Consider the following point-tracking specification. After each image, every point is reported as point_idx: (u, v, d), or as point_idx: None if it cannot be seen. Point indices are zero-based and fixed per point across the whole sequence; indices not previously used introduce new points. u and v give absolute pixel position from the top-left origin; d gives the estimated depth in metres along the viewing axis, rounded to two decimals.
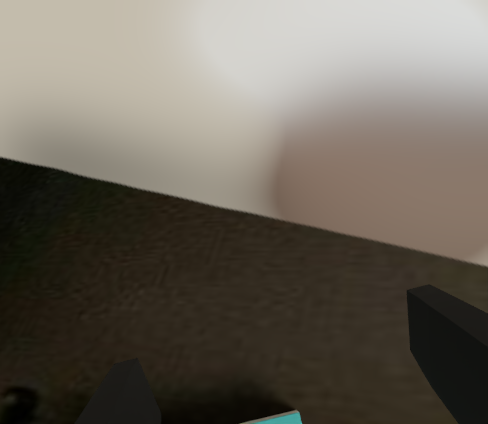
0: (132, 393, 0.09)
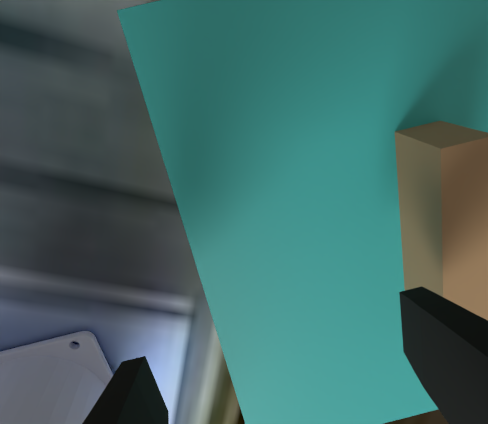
0: (140, 391, 0.09)
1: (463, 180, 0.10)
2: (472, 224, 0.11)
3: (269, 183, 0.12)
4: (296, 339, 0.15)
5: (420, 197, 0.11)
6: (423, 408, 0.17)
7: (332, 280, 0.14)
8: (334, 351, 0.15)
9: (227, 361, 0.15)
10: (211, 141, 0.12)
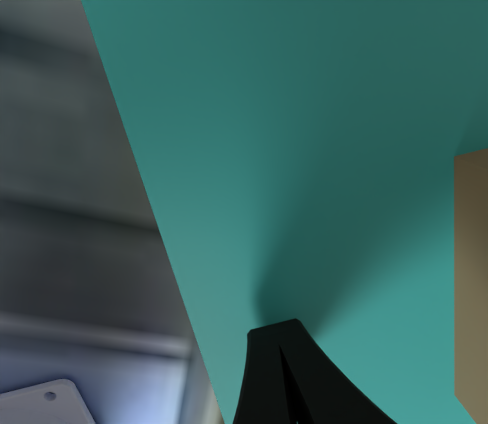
0: (281, 355, 0.09)
1: None
2: None
3: (288, 223, 0.09)
4: None
5: None
6: None
7: (365, 341, 0.11)
8: None
9: None
10: (212, 171, 0.09)
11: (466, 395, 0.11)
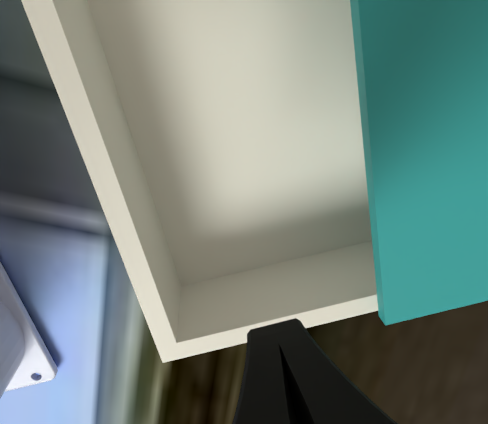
0: (281, 355, 0.09)
1: None
2: None
3: None
4: (456, 166, 0.13)
5: None
6: None
7: None
8: None
9: (375, 191, 0.13)
10: None
11: None
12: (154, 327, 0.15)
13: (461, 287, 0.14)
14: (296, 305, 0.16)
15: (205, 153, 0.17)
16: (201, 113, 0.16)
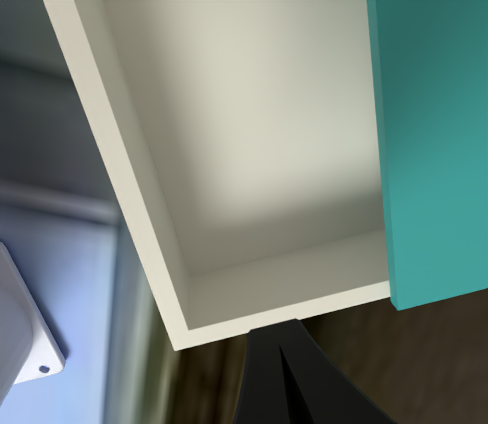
0: (281, 355, 0.09)
1: None
2: None
3: None
4: (470, 148, 0.13)
5: None
6: None
7: None
8: None
9: (389, 174, 0.13)
10: None
11: None
12: (166, 314, 0.15)
13: (474, 272, 0.14)
14: (308, 292, 0.16)
15: (214, 141, 0.17)
16: (211, 100, 0.16)
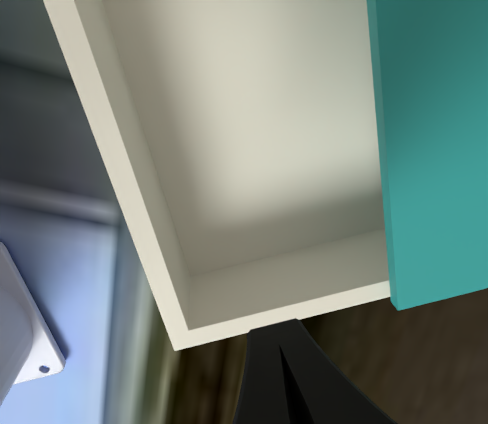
0: (281, 355, 0.09)
1: None
2: None
3: None
4: (470, 148, 0.13)
5: None
6: None
7: None
8: None
9: (389, 174, 0.13)
10: None
11: None
12: (166, 314, 0.15)
13: (474, 272, 0.14)
14: (308, 292, 0.16)
15: (214, 141, 0.17)
16: (211, 100, 0.16)
